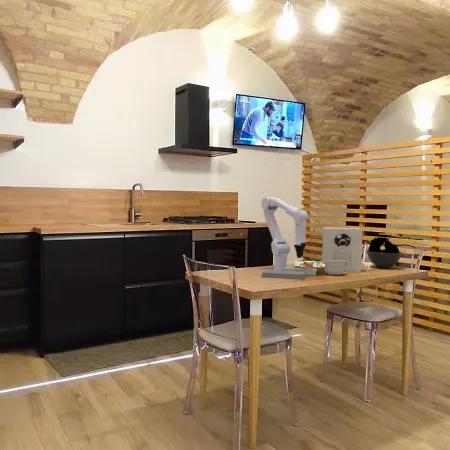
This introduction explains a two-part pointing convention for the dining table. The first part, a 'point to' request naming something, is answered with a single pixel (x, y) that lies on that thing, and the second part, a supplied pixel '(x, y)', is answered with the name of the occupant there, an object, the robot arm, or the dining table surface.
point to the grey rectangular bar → (308, 272)
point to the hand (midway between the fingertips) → (300, 257)
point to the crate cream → (290, 265)
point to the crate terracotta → (309, 266)
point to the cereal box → (343, 247)
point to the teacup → (335, 266)
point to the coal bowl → (383, 252)
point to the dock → (284, 274)
